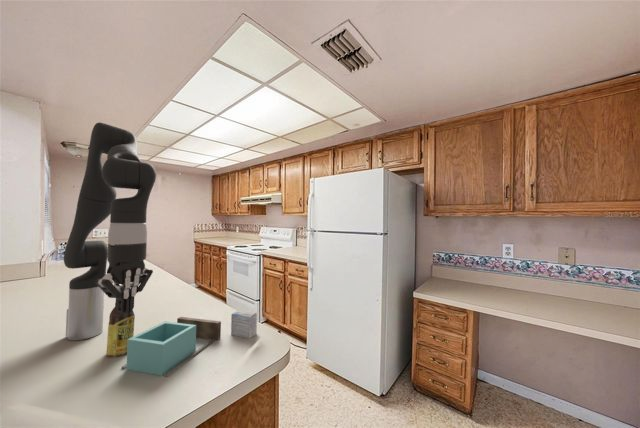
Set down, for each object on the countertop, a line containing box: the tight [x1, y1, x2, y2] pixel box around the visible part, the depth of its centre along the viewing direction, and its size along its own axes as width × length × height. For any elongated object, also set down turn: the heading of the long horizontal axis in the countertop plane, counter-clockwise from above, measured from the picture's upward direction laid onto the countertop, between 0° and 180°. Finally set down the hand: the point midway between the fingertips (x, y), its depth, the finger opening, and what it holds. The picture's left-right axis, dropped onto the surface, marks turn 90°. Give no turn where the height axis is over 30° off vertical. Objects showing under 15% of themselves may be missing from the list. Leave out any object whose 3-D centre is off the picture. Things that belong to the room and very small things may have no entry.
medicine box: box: [230, 309, 258, 339], centre depth 89 cm, size 8×4×9 cm, turn 71°
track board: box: [121, 316, 222, 378], centre depth 77 cm, size 16×22×7 cm
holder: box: [125, 320, 197, 377], centre depth 72 cm, size 11×12×8 cm
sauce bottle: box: [105, 298, 136, 358], centre depth 76 cm, size 7×6×20 cm
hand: (125, 312), depth 61 cm, fingers closed
